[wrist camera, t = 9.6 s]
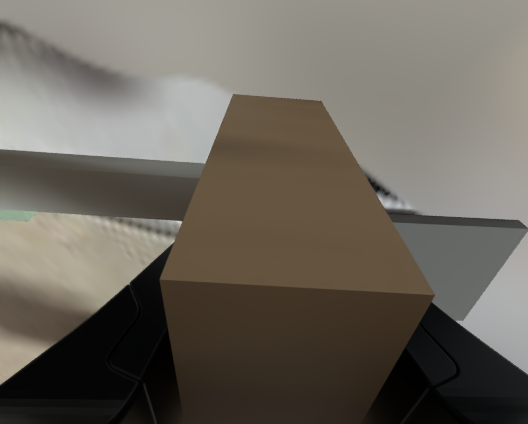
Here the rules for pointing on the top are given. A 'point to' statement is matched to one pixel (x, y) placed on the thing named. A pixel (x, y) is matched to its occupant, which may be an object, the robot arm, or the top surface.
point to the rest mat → (458, 255)
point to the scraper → (258, 262)
